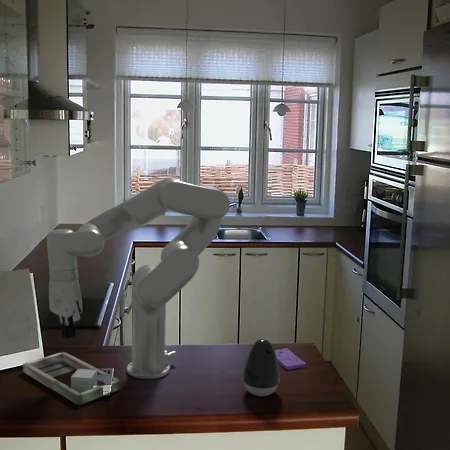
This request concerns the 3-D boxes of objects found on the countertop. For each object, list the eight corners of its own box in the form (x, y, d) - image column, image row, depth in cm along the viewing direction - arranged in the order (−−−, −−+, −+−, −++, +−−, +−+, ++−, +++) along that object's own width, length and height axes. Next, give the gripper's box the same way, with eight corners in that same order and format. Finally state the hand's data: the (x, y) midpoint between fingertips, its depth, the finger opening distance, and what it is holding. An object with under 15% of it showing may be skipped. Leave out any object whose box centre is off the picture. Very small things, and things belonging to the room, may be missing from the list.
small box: (78, 384, 160) (77, 368, 159) (98, 386, 159) (98, 369, 159) (70, 394, 154) (70, 376, 154) (91, 395, 154) (91, 378, 153)
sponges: (287, 353, 188) (287, 348, 188) (306, 368, 177) (306, 363, 176) (267, 356, 186) (267, 350, 185) (285, 371, 174) (286, 365, 174)
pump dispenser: (254, 404, 152) (256, 349, 149) (235, 387, 161) (237, 336, 159) (286, 396, 157) (289, 343, 154) (266, 381, 166) (269, 331, 163)
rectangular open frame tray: (63, 359, 176) (63, 351, 176) (120, 389, 158) (120, 380, 157) (23, 372, 166) (22, 363, 166) (78, 405, 148) (78, 396, 148)
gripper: (37, 272, 161) (43, 334, 165) (67, 281, 151) (72, 347, 155) (60, 267, 167) (66, 327, 170) (91, 275, 157) (96, 339, 160)
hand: (69, 336), depth 162 cm, fingers closed
